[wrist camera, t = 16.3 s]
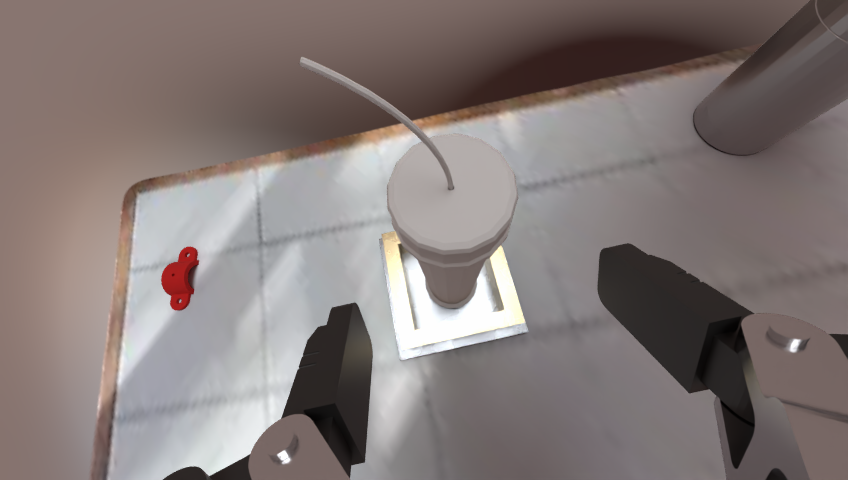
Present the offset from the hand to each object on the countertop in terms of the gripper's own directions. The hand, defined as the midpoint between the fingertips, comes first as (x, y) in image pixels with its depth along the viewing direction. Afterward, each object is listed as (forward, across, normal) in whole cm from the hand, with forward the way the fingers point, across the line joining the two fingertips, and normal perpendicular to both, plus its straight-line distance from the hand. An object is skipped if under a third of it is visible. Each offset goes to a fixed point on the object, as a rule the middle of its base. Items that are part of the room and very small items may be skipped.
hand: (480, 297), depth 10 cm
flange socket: (+22, 0, +15) cm, 26 cm away
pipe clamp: (+28, +32, +10) cm, 43 cm away
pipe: (+21, 0, +14) cm, 25 cm away
